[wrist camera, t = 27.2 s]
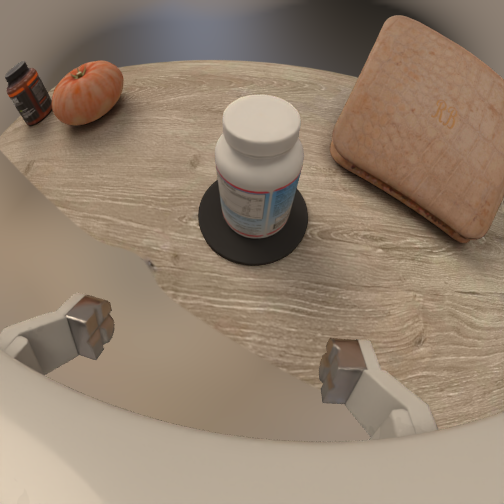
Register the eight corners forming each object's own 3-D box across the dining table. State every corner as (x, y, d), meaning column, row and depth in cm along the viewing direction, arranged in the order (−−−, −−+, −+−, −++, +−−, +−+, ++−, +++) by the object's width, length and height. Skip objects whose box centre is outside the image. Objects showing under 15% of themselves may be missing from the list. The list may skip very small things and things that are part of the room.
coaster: (291, 280, 24) (292, 278, 23) (182, 245, 24) (180, 243, 24) (316, 188, 27) (317, 185, 27) (222, 161, 28) (221, 158, 28)
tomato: (66, 150, 29) (40, 108, 22) (62, 112, 32) (44, 76, 25) (137, 111, 31) (122, 64, 24) (121, 81, 35) (109, 42, 27)
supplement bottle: (55, 98, 34) (33, 51, 24) (52, 115, 32) (25, 65, 22) (29, 113, 33) (5, 70, 23) (25, 132, 31) (-5, 86, 21)
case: (316, 161, 29) (358, 28, 14) (368, 86, 35) (398, 4, 21) (464, 259, 25) (563, 186, 10) (474, 155, 32) (524, 90, 17)
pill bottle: (274, 177, 27) (289, 82, 17) (298, 230, 25) (332, 141, 14) (214, 192, 26) (201, 96, 16) (232, 249, 24) (226, 162, 14)
